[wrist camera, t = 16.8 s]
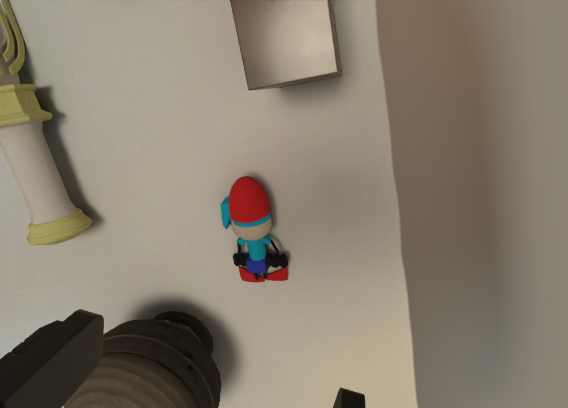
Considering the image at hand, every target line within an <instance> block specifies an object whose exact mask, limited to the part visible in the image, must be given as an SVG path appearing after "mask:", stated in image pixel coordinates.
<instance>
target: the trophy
mask: <svg viewBox="0 0 568 408" xmlns="http://www.w3.org/2000/svg"><path fill="white" fill-rule="evenodd" d="M2 3H3V5H4V8H5V10H6V13H7V15H8V18H9V21H10V23H11V26H12V28H13V31H14V33H15V36H16V40H17V46H18V54H17V58H16V60H15V54H14V49H15V46H14V39H13V35H12V32H11V30H10V27H9V25H8V22H7V20H6V17H5V14H4V12H3V9H2V7H1V4H0V145H1V147H2V149H3V152H4V154H5V156H6V158H7V161H8V163H9V165H10V167H11V170H12V172H13V174H14V176H15V179H16V181H17V183H18V185H19V188H20V190H21V192H22V194H23V197H24V199H25V201H26V203H27V206H28V208H29V210H30V213H31V222H32V223H30V224H29V227H28V228H29V229H30V231H29V236H28V237H27V240H28V243H29V244H31V245H52V244H58V243H61V242H64V241H67V240H70V239H72V238H74V237H76V236H78V235H79V234H80V233H82V232H83V231H84V230H86V229H87V228H88V227H89V226H91V224H92V220H91V218H90V217H89V216H86V215H85V214H84V213H82V210H81V209H79V208H76V207H75V206H74V205H73V203H72V202H71V201H70V199H69V196H68V194H67V192H66V189H65V187H64V184H63V182H62V179H61V177H60V174H59V172H58V169H57V167H56V165H55V162H54V160H53V157H52V155H51V152H50V150H49V147H48V145H47V142H46V140H45V138H44V135H43V133H42V123H43V121H46V120H50V119H51V118H52V113H50V112H47V111H44V110H41V108H40V106H39V103H38V101H37V98H36V96H35V93H34V92H35V91H36V88H37V87H36V85H35V84H20V82H19V76H18V71H20V70H21V67H22V65H23V63H24V61H25V47H24V42H23V38H22V36H21V33H20V31H19V28H18V26H17V23H16V20H15V18H14V15H13V13H12V10H11V8H10V5H9V3H8V0H2Z"/></svg>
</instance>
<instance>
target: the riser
mask: <svg viewBox="0 0 568 408" xmlns="http://www.w3.org/2000/svg"><path fill="white" fill-rule="evenodd" d="M230 2H231V7H232V12H233V16H234V21H235V26H236V31H237V36H238V41H239V46H240V50H241V55H242V60H243V65H244V70H245V75H246V79H247V84H248V89H249V90H260V89H271V88H281V87H286V86H291V85H296V84H301V83H306V82H311V81H316V80H321V79H326V78H331V77H336V76H341V75H342V71H341V63H340V56H339V48H338V41H337V34H336V26H335V19H334V12H333V4H332V0H230Z"/></svg>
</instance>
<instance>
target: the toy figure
mask: <svg viewBox="0 0 568 408" xmlns="http://www.w3.org/2000/svg"><path fill="white" fill-rule="evenodd" d="M221 211H222V220H223V226H224V227H225V228H226V230H227V228H228V227H229V225H230V224H231V225H232V228H233V230H234V232H235V234H236V235H237V236H239V237H240V238H239V239H238V240H237V244H238V253H235V254H234V255H233V259H234V264H235V265H236V266H239V265H241V266H245V265H246V266H247V268H248V271H247V270H245V269H243V268H241V267H240V266H239V271H240V276H241V279H242V280H243V281H248V282H264V281H265V280H264V279H266V280H272V281H283V280H287V266H288V257H287V256H286V255H285V254H281V255H280V256H279V253H280V252H279V250H278V248H277V247H276V245H275V244H274V242H273V241H272V240H271V238H269V237H267V236H266V235H267V234H268V233H269V231H270V230H271V227H272V219H271V212H270V211H271V207H270V203H269V200H268V197H267V195H266V193H265V191H264V189H263V188H262V186H261V185H260V184H259V183H258V182H257V181H256V180H255V179H253V178H251V177H241V178H239V179H237V180H236V182H235V183H234V184H233V186H232V188H231V191H230V195H229V197H226V198H225V199H224V201H223V202H222V203H221ZM244 243H247V246H248V250H249V254H245V255H244V254H241V253H240V252H241V244H244ZM269 243H271V244H272V246H273V247H274V249H275V250H276V252H277V255H276V254H273V255H272V254H271V253H267V252H266V248H265V244H267V245H269ZM279 265H280V266H281V267H282V268H283V269H281V270H279V271H276V272H274V273H271V274H268V275H266V273H267V270H268V268H269V266H272V267H274V268H277V267H279ZM253 273H254V274H253ZM257 273H263V276H264V278H261V277H259V276H258V275H257Z"/></svg>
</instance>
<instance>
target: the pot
mask: <svg viewBox="0 0 568 408" xmlns="http://www.w3.org/2000/svg"><path fill="white" fill-rule="evenodd" d="M212 352H213V339H212V336H211V334H210V333H209V331H208V330H207V328H206V327H205V326H204V325H203V323H201V322H200V321H199V320H198V319H196V318H195V317H192V316H191V315H188V314H186V313H183V312H176V311H173V312H165V313H161V314H159V315H158V316H156V317H155V318H154V319H142V320H132V321H128V322H125V323H123V324H120V325H118V326H117V327H115V328H114V329H112V330H110V331H108V332H107V333H105V334H104V335H103V352H102V356H101V359H100V361H99V364H98V365H97V367H96V369H95V370H94V371H93V372H92V374H91V375H90V376H89V377H88V378H87V379H86V380H85V381H84V383H83V384H82V385H81V386H80V387H79V388H78V389H77V390H76V392H75V393H74V394H73V395H72V396H71V397H70V398H69V399H68V401H67V402H66V403H65V404H64V408H218V406H219V402H220V392H221V380H220V373H219V370H218V368H217V365H216V363H215V361H214V360H213V358H212V357H211V355H212Z"/></svg>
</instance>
